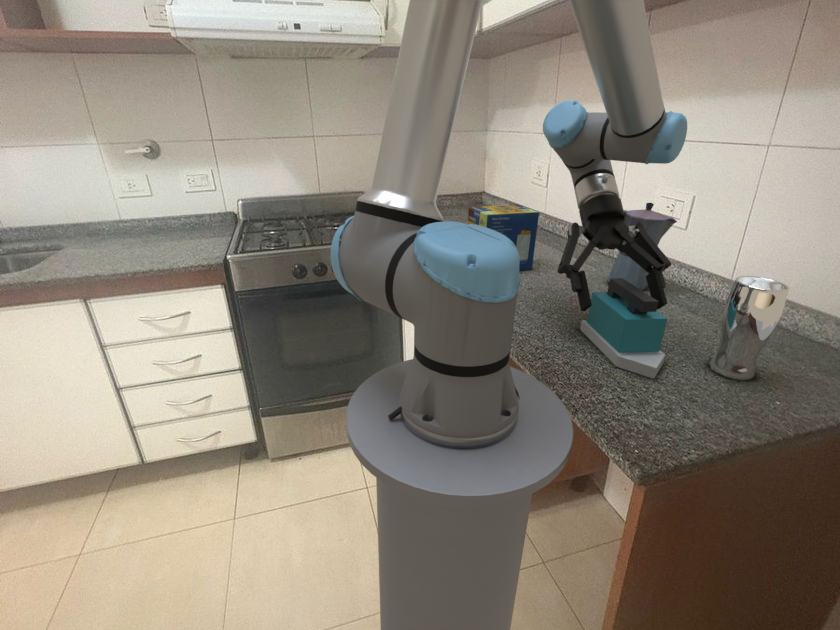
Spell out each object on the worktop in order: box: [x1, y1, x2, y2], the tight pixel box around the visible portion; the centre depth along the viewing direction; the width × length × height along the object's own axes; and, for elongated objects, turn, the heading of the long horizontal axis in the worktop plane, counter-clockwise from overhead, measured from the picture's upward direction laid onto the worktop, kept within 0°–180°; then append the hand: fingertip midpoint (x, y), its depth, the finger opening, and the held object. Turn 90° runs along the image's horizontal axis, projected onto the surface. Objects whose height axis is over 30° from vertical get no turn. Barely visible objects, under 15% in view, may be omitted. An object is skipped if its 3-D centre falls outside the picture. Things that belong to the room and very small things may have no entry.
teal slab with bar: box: [579, 278, 669, 380], centre depth 74 cm, size 18×8×11 cm, turn 5°
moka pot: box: [606, 202, 678, 291], centre depth 104 cm, size 10×15×20 cm, turn 74°
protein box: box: [467, 204, 540, 272], centre depth 117 cm, size 10×15×16 cm
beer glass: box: [709, 275, 790, 381], centre depth 68 cm, size 7×7×15 cm
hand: (623, 307), depth 76 cm, fingers open, 13 cm apart
